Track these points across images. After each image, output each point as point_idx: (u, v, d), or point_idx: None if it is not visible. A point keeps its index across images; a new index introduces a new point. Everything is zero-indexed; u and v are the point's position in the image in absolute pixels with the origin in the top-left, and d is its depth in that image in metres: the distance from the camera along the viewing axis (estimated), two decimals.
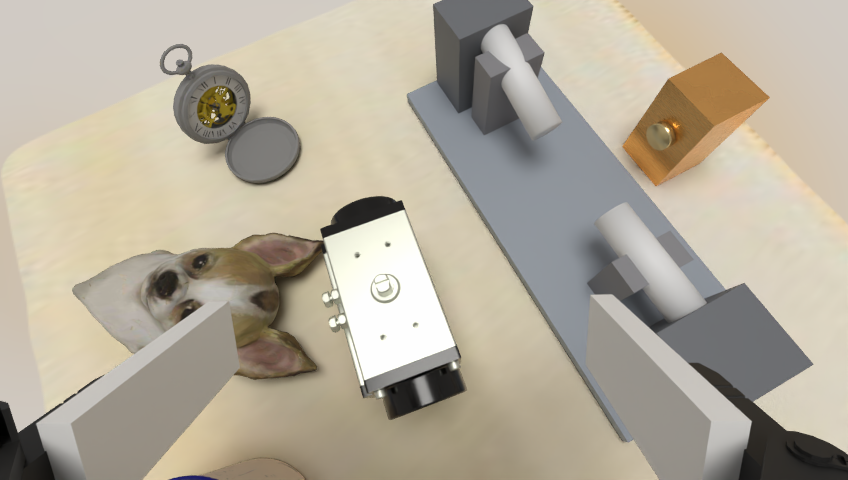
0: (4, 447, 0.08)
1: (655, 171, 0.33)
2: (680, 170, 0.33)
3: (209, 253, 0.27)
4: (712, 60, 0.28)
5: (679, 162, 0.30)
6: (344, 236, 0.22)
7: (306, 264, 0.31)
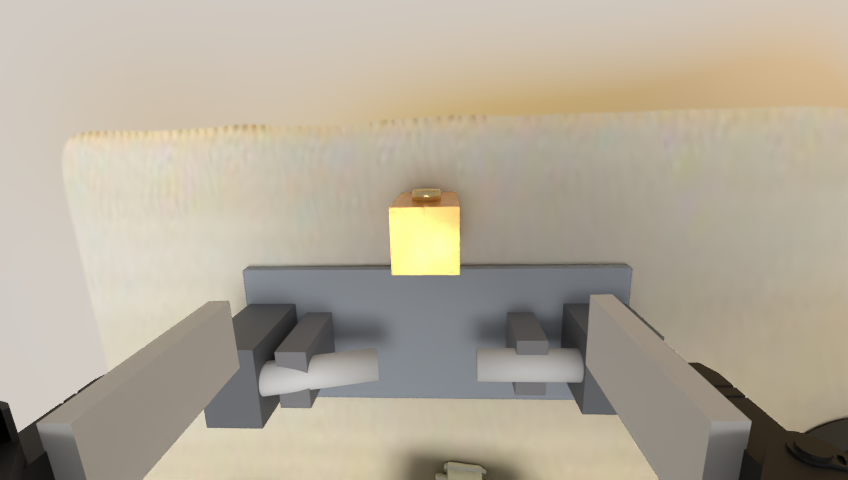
0: (4, 447, 0.08)
1: None
2: None
3: None
4: (393, 222, 0.26)
5: None
6: None
7: None
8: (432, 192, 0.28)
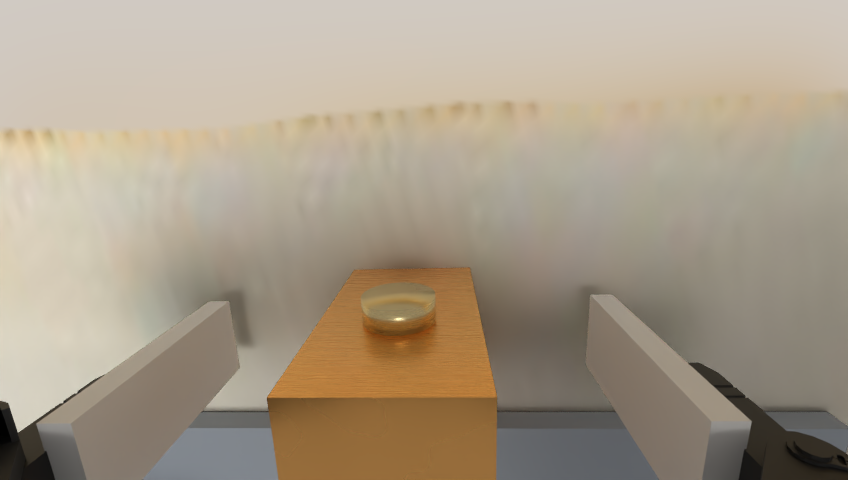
0: (4, 447, 0.08)
1: None
2: None
3: None
4: (284, 440, 0.08)
5: None
6: None
7: None
8: (412, 311, 0.10)
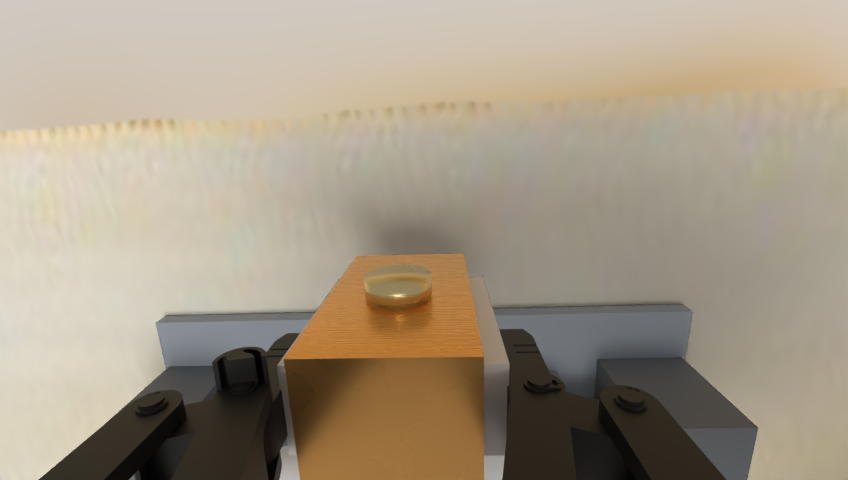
0: (260, 387, 0.10)
1: None
2: None
3: None
4: (298, 397, 0.09)
5: None
6: None
7: None
8: (410, 288, 0.11)
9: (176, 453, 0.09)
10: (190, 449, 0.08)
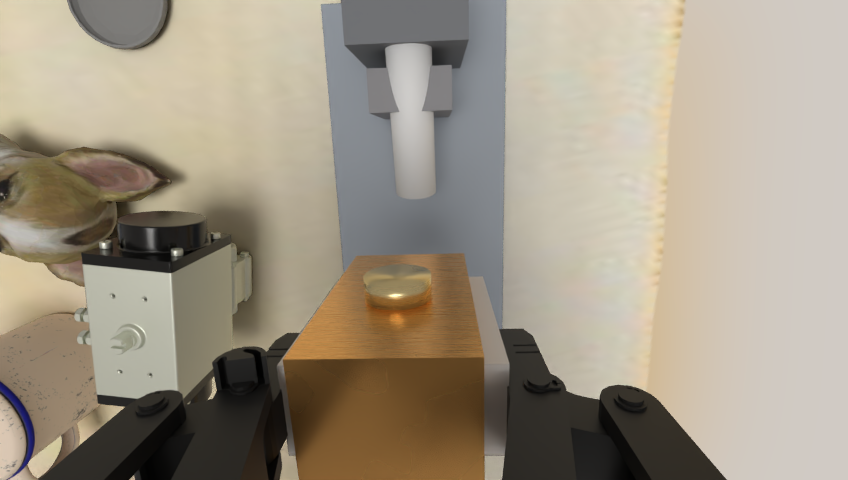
0: (259, 387, 0.10)
1: None
2: None
3: (15, 179, 0.25)
4: (297, 397, 0.09)
5: None
6: (103, 272, 0.21)
7: (145, 195, 0.29)
8: (410, 288, 0.11)
9: (176, 453, 0.09)
10: (190, 449, 0.08)
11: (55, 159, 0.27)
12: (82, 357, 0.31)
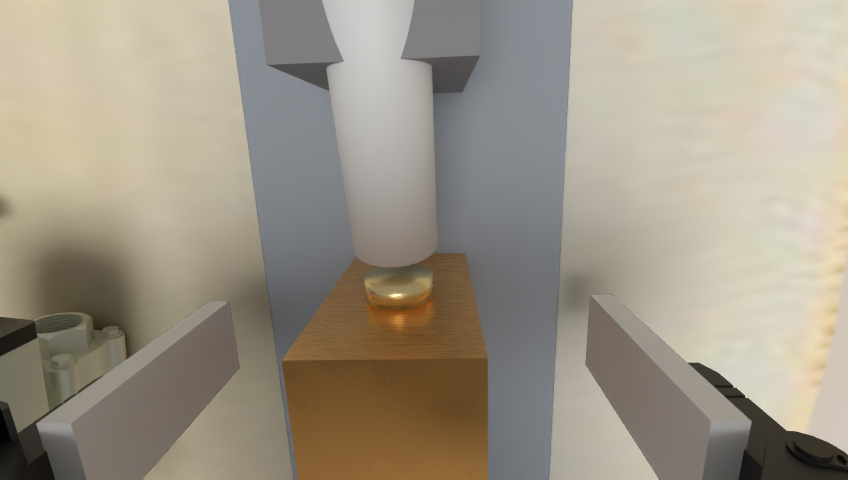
0: (4, 447, 0.08)
1: None
2: None
3: None
4: (297, 399, 0.09)
5: None
6: None
7: None
8: (411, 287, 0.11)
9: None
10: None
11: None
12: None
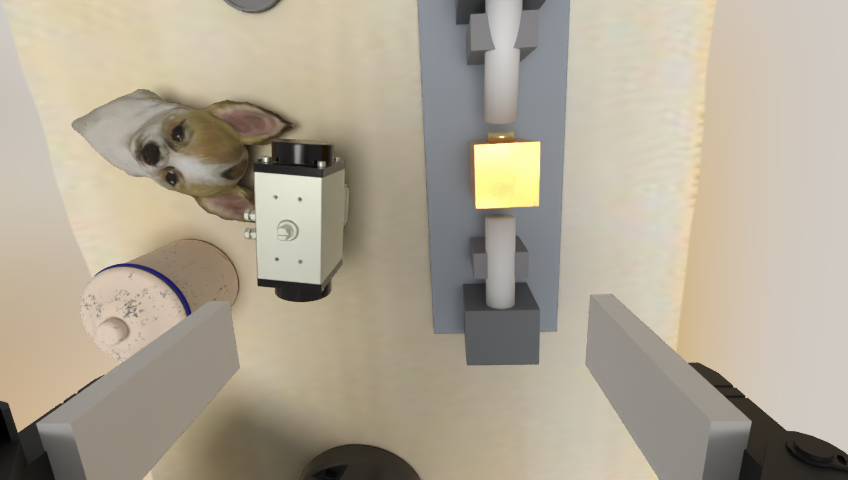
0: (4, 447, 0.08)
1: None
2: None
3: (185, 125, 0.31)
4: (478, 159, 0.28)
5: None
6: (270, 178, 0.27)
7: (273, 139, 0.35)
8: (508, 133, 0.30)
9: None
10: None
11: (207, 110, 0.33)
12: (214, 271, 0.38)
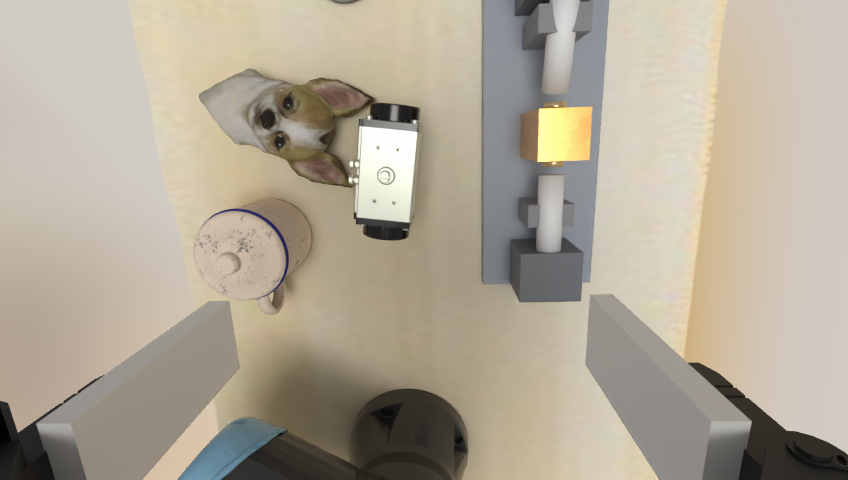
0: (4, 447, 0.08)
1: None
2: None
3: (293, 96, 0.37)
4: (541, 120, 0.34)
5: None
6: (374, 131, 0.33)
7: (356, 111, 0.42)
8: (562, 102, 0.36)
9: None
10: None
11: (305, 86, 0.40)
12: (297, 223, 0.43)
